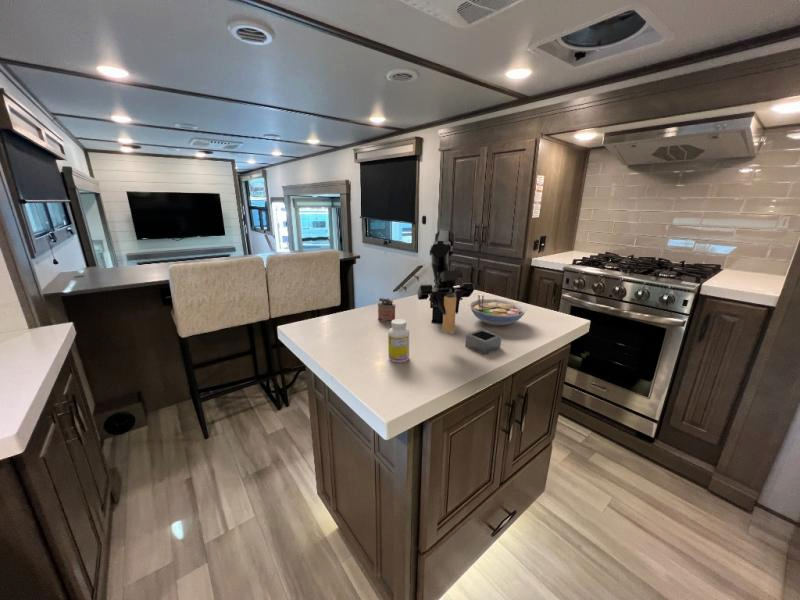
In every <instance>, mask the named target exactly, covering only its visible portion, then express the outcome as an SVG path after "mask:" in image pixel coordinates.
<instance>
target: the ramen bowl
mask: <svg viewBox="0 0 800 600" xmlns="http://www.w3.org/2000/svg"><path fill="white" fill-rule="evenodd" d="M480 296H481V295H478V297H477V299H476V300H472V301H470V303H469V305H468V306H469V308H470V310H471V312H472V313H473V315H474V317H475V318H477V319H478V320H479V321H481V322H484V323H485V324H488V325H490V326H495V327H502V326H505V325H511V324H513V323H516V322H517V321H519V320H520V319H521V318H522V317H523V316H524V315H525V313H526V312H527V308H526V306H524V305H523V304H520V303H518V302H514V301H511V300H507V299H501V298H500V299H499V298H498V299H497V298H484V296H485V295H482V296H481V297H480Z"/></svg>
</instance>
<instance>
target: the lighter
mask: <svg viewBox="0 0 800 600" xmlns="http://www.w3.org/2000/svg"><path fill="white" fill-rule="evenodd" d="M378 301H379V302H378V303H377V307H378V308H377V313H378V315H377V316H378V317H377V321H378V320H379V322H381V321H384V322H383V323H387V322H389V324H391V321H392V320H394V319H396V304H395V303H393V302H394V300H393V299H390V298H389V297H387V298H385V297H379V298H378Z"/></svg>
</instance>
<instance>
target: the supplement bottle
mask: <svg viewBox="0 0 800 600" xmlns="http://www.w3.org/2000/svg"><path fill="white" fill-rule="evenodd" d="M390 324H391V328H389V329H388V336H387V337H388V339H387V340H388V341H387V342H388V345H387V346H388V359H389V361H391V362H393V363H398V364H399V363H400V364H401V363H405V362H407V361H409V359H410V330H409V328H407V320H405V319H403V318H395V319H394V320H392V321H391V323H390Z"/></svg>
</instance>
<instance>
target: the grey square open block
mask: <svg viewBox="0 0 800 600" xmlns="http://www.w3.org/2000/svg"><path fill="white" fill-rule="evenodd" d="M501 343H502V336H501V335H499V334H496V333H493V332H492V331H488V330H486V329H482V328H480V329H478V330H474V331H472V332H469V333H466V335H465V347H466V348H468V349H471V350H473V351H475V352H478V353H480V354H482V355H484V356H486V355H488V354H490V353H492V351H493V352H495V351H497V350H499V349H501V345H502V344H501Z"/></svg>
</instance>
